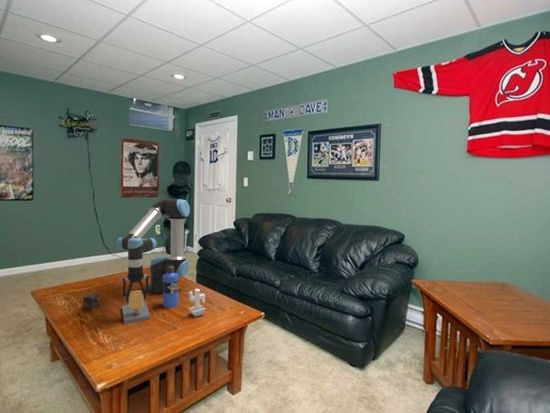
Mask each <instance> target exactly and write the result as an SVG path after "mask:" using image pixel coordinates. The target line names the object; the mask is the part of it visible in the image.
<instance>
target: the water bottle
mask: <svg viewBox="0 0 550 413" xmlns="http://www.w3.org/2000/svg"><path fill="white" fill-rule="evenodd" d="M167 268H168V269H167V273H166V274H164V275H163V285H164V289H163V293H162V303H163V304H162V306H163V307H164V308H165V309H166V308H168V309H172V308H175V307H176V308H177V307H178V306H179V287H178V284H179V277H178V274H177V273H174V269H173V268H174V267H173V266H172V265H170V266H168V267H167Z"/></svg>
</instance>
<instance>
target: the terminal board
mask: <svg viewBox="0 0 550 413" xmlns="http://www.w3.org/2000/svg"><path fill="white" fill-rule="evenodd" d="M121 309H122V310H121V311H122V318H123V323H124V324H123V325H125V324H130V323H136V322H141V321H146V320H150V319H151V315H150V312H149V309H148V305H147V303H146V301H144V306H143V307H142V308H136V309H131V308H129V304H125V305H124V304H123V305H121Z"/></svg>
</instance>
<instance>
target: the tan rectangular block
mask: <svg viewBox="0 0 550 413" xmlns="http://www.w3.org/2000/svg"><path fill="white" fill-rule="evenodd" d="M142 293H143V291H142V289H141V290H133V291H130V294H129V295H130V308H131V309H136V308H142V307H143V306H142Z"/></svg>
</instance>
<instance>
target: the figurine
mask: <svg viewBox="0 0 550 413" xmlns="http://www.w3.org/2000/svg"><path fill="white" fill-rule="evenodd" d="M188 294H189V296H188V297H189V299H188V300H189V301H190V302H194V306H192V307H190V306H189V307H188V309H189V311H190V313H191V315H192V316H194V317H201V316H203V315H204V313H205V311H206V310H207V308H206V307H204V306H203V305H201V303H200V300H201V302H202V303H203V304H204V303H205V302H206V295H205V293H201V289H199V288H195V289H194V294H193V292H192V291H189V293H188Z"/></svg>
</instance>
